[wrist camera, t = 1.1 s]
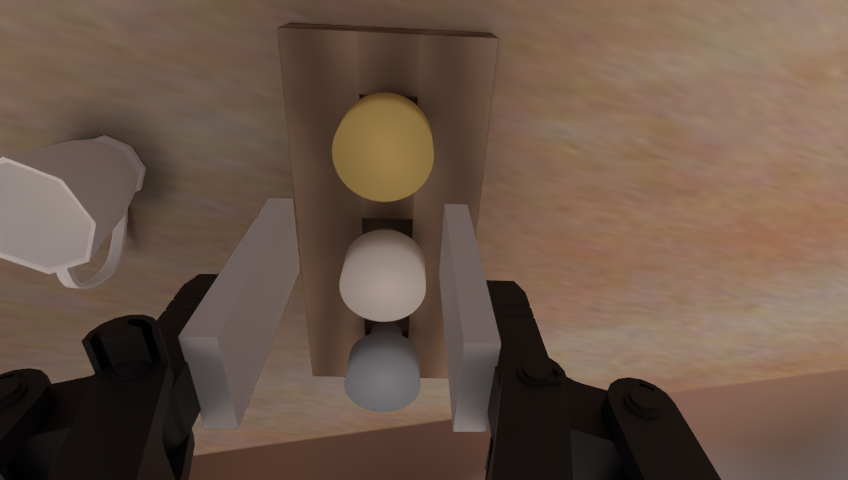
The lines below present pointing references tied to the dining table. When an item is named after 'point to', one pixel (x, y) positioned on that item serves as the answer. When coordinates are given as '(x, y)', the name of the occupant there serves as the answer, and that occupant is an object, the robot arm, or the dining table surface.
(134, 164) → the cup
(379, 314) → the cream button
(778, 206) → the dining table surface
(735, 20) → the dining table surface
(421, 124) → the mustard button
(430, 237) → the panel
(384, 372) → the slate button
